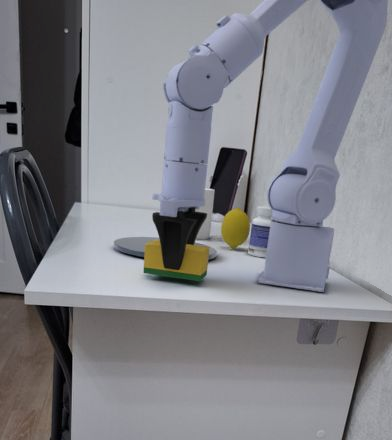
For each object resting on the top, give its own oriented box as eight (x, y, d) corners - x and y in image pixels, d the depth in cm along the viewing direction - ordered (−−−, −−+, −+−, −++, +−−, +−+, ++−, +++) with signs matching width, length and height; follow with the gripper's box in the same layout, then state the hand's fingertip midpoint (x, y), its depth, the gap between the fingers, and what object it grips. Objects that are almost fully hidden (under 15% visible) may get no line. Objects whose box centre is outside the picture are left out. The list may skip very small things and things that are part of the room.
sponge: (206, 275, 77) (209, 247, 76) (200, 281, 73) (203, 251, 72) (152, 267, 78) (154, 239, 77) (143, 273, 74) (145, 243, 73)
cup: (217, 239, 117) (222, 190, 113) (170, 240, 110) (174, 188, 106) (194, 233, 123) (199, 186, 120) (149, 233, 116) (152, 183, 113)
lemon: (236, 246, 111) (241, 206, 108) (252, 251, 106) (258, 210, 104) (213, 246, 108) (218, 205, 105) (229, 251, 103) (234, 208, 101)
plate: (223, 252, 103) (224, 245, 102) (204, 268, 86) (205, 260, 85) (132, 239, 106) (133, 233, 105) (97, 253, 89) (97, 245, 88)
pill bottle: (274, 259, 100) (281, 210, 97) (246, 255, 101) (252, 206, 98) (276, 255, 105) (283, 208, 102) (249, 251, 106) (255, 204, 103)
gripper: (170, 160, 78) (162, 254, 83) (139, 158, 65) (132, 270, 69) (218, 165, 77) (208, 260, 82) (196, 164, 64) (185, 278, 68)
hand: (176, 265), depth 75 cm, fingers closed on sponge, 4 cm apart
